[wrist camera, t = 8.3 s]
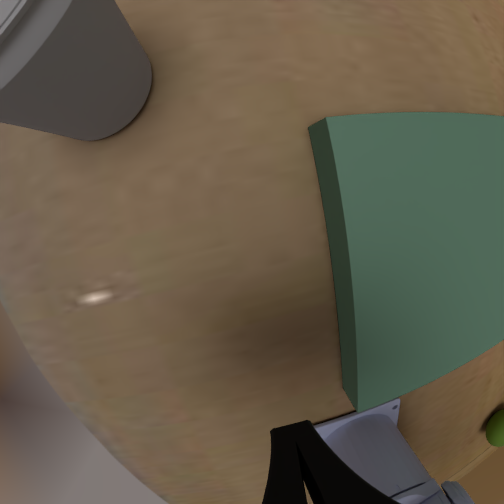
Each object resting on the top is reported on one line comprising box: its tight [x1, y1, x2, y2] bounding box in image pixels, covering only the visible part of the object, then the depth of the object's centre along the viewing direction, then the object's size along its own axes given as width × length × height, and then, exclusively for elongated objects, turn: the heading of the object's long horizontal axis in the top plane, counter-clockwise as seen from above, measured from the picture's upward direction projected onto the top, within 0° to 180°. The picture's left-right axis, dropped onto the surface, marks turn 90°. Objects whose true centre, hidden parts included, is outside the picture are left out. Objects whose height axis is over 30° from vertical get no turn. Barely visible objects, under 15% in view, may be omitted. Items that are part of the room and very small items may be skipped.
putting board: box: [308, 112, 504, 413], centre depth 17 cm, size 18×24×3 cm
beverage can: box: [0, 0, 152, 141], centre depth 8 cm, size 6×6×12 cm
